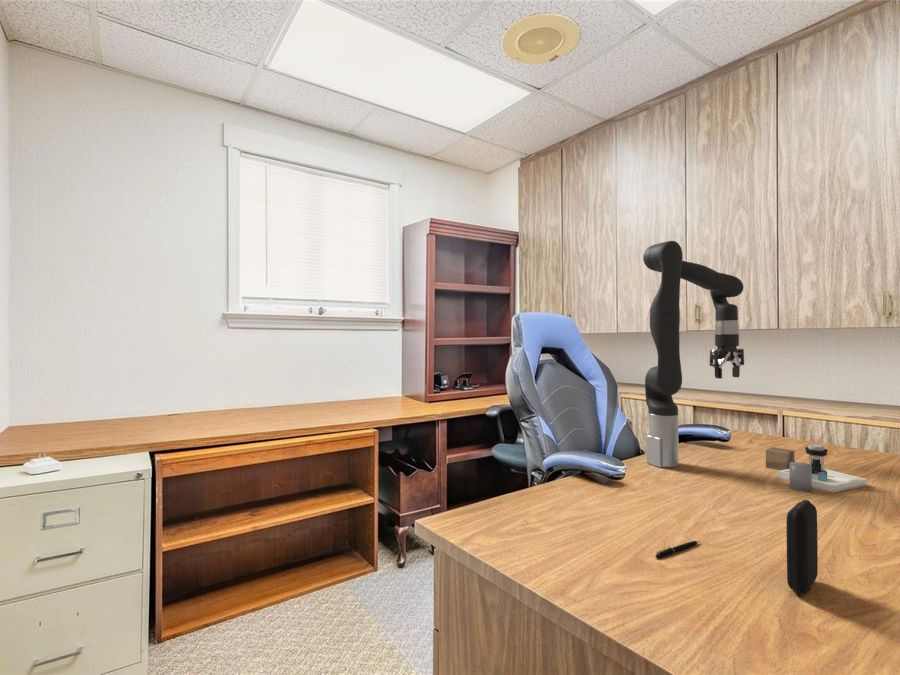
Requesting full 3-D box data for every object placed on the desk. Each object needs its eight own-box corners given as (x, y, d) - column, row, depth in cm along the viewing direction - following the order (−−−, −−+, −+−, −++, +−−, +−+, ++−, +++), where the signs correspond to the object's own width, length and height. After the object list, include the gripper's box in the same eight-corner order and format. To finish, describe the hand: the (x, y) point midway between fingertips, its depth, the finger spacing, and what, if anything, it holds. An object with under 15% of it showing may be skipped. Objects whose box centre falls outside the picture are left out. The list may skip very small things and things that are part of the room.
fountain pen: (697, 542, 100) (697, 535, 100) (703, 544, 99) (703, 537, 99) (652, 558, 93) (652, 551, 93) (657, 561, 92) (657, 553, 92)
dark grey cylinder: (803, 492, 128) (803, 467, 128) (785, 487, 133) (785, 463, 133) (815, 490, 130) (815, 465, 130) (797, 485, 135) (797, 461, 135)
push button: (835, 480, 137) (835, 446, 137) (832, 484, 133) (831, 449, 133) (807, 475, 142) (807, 442, 141) (803, 479, 138) (803, 445, 138)
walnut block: (787, 472, 147) (787, 453, 147) (765, 467, 152) (765, 449, 152) (794, 468, 151) (794, 450, 151) (773, 464, 156) (773, 446, 156)
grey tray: (832, 492, 128) (832, 485, 128) (777, 477, 142) (777, 470, 142) (866, 486, 133) (866, 479, 133) (810, 471, 147) (810, 465, 147)
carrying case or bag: (800, 572, 86) (800, 493, 86) (821, 579, 84) (820, 498, 84) (784, 594, 79) (783, 508, 79) (806, 601, 77) (805, 513, 77)
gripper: (731, 333, 174) (732, 376, 174) (703, 333, 169) (703, 377, 169) (750, 332, 167) (751, 377, 167) (721, 333, 162) (722, 379, 162)
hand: (727, 377), depth 168 cm, fingers open, 8 cm apart
